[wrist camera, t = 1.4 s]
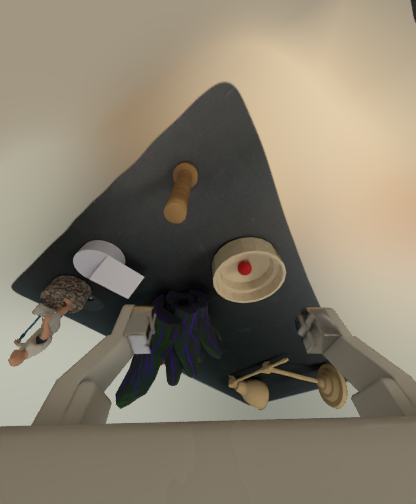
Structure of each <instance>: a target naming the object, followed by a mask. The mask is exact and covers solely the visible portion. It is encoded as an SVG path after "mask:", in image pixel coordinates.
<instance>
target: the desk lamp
mask: <svg viewBox="0 0 416 504" xmlns="http://www.w3.org/2000/svg"><path fill="white" fill-rule="evenodd" d="M286 361H288V358H283V359H281V360H280V361H278V362H275V363H273V364H268V363H269V361H268V362H266V361H265V362H264V363H263V364H262V368H260V370H257V371H255V372H253V373H250V374H248V375H246V376H244V377H241V378H239V379H235V378H234V377H233V376H230V375H229V377H230V379H229V387H230V388H235V390H236V391H237V392H239V393H241V395H242V396H243V398H244V399H245V401H246V402H247V403H248V404H250V405H251V406H253V407H255V408H258V409H259V410H263V409H264V408H265V407H266V405H267V403H268V398H269V392H268V388H267V385H266V384H265V383H263V382H260V381H258V380H255V379H249V380H245V381H242V380H244V379H246V378H249V377H251V376H253V375H256V374H258V373H260V372H262V373H263V372H264V373H267V374H268V373H270V372H274V373H278V374H282V375H286V376H290V377H294V378H298V379H302V380H306V381H310V382H314V383H317V385H318V389H319V392H320V395H321V397H322V398H323V400H324V401H325V402H326V403H327V404H328V405H329V406H331V407H333V408H336V409H339V408H342V407H343V406H344V404H345V403H346V400H347V386H346V382H345V379H344V377H343V375H342V374H341V373H340V372H339V371H338V370H337V369H336V368H335V367H334V366H333V365H332V364H323V365H322V366H321V367H320V368H319V370H318V374H317V378H316V379H315V378H311V377H307V376H303V375H299V374H295V373H291V372H287V371H283V370H279V369H276V368H273V367H274V366H277V365H279V364H282V363H284V362H285V363H286Z"/></svg>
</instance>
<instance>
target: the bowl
mask: <svg viewBox="0 0 416 504" xmlns="http://www.w3.org/2000/svg"><path fill="white" fill-rule="evenodd" d="M243 261H246V262H249V263H250V264H251V266H252V271H251V273H250V274H249V275H241V274H240V273H239V272H238V265H239V263H241V262H243ZM212 273H213V284H214V288H215V290H216V291H217V293H218V294H219V295H220V296H222V297H223V298H224V299H227V300H230V301H232V302H239V303H247V302H255V301H258V300H262V299H264V298H266V297H268V296H270V295H272V294H273V293H274V292H276V291H277V290H278V289H279V288H280V286H281V285H282V283H283V282H284V280H285V275H286V270H285V265H284V263H283V261H282V260H281V258H280V256H279V254H278V253H277V251H276V249H275V248H274V247H273V246H272V245H271V244H270V243H269V242H267V241H265V240H263V239H259V238H254V237H247V238H239V239H236V240H234V241H231V242H229V243H227V244H226V245H224V246H223V247H222V248H220V249H219V251H218V252H217V253H216V255H215V256H214V259H213V262H212Z"/></svg>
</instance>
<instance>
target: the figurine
mask: <svg viewBox="0 0 416 504" xmlns="http://www.w3.org/2000/svg"><path fill="white" fill-rule="evenodd" d="M91 293H92V290H91V287H90V286H89V285H88V284H87V283H86V282H85V281H83V280H82V279H80V278H77V277H74V276H69V275H62V276H58V277H56V278H55V279H54V280H53V281H52V282H51V283H50V284H49V286H48V287H47V288H46V289H45V290H44V291H43V292H42V293H41V295H40V299H41V301H42V302H43V303H44V304H45V305H46V306H44V304H42V303H40V304H39V305H38V306H37V307H36V308H35V309H34V310H33V311H32V313H33V314H34V315H35V314H37V315H39V317H38V318H37V319H36V320H35V322H34V323H33V324H32V325H31V326H30V327H29V328H28V329H27V330H26V331H25V333H24V334H22V335H21V337H20V338H19V339H17V340H15V341H16V342H15V341H14V343H15V344H16V345H17V346H18V347H19V348H20V349H19V350H14V352H13V353H12V354H11V356H10V359H9V360H8V361H9V364H10V365H11V366H18V365H19V364H21V363H22V362H23V361H24V360H25V359H28V358H30V357H32V356H35V355H37V354H39V353H40V352H42V351H43V350H44V349H45V348H46V347H47V346H48V345H49V344H50V343H51V340H52V335H53V334H54V333H55V332H57V331H58V329H59V327H60V319H61V317H62V315H64V314H65V313H75V312H78V311H80V310H81V309H82V308H83V306H84V305H85V303H86V301H87V300H88V298H89V297H90V295H91ZM55 311H58V312H56V313H54V312H55ZM41 316H42V317H44V318H45V319H43V318H42V321H43V323H42V325H41V328H39V330H37V331H36V333H34V334H33V335H32V336H31V337H30V338H29V339H28V340H27V342H26V343H20V342H21V339H22V338H23V337H24V336H25V334H26V333H27V331H28V330H29V329H30V328H31V327H32V326H33V325H34V324H35V323H36V321H37V320H38V319H39V318H40V317H41Z"/></svg>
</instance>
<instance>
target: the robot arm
mask: <svg viewBox="0 0 416 504" xmlns="http://www.w3.org/2000/svg"><path fill="white" fill-rule="evenodd" d="M300 312H301V314H300V315H298V316H297V318H296V320H295V325H296V329H297V331H298V333H299V334H300V335H301V336H302V337H303V338H302V342H303V344H304V347H305V349H306V351H307V353H316V354H323V355H324V356H325V357H326V358H327V359H328V360H329V362H330V363H331V364H332V365H333V366H334V367H335V368H336V369H337V370H338V371H339V372H340V373H341V374H342V375H343V376H344V377H345V378H346V379H347V380H348V381H349V382H350V383H351V384H352V385H353V386H354V387H355V388H356V389H357V390H358V391H359V392H357V393H356V394H354V395H352V398H351V399H352V401H353V403H354V405H355V407H356V409H357V411H358V413H359V415H360V416H361V417H353V418H315V419H314V418H313V419H276V420H275V419H274V420H240V421H239V420H236V421H202V422H201V421H197V422H159V423H121V424H106V420H107V417H108V414H109V410H110V407H111V404H112V403H111V401H110V399H109V398H108V397H107V396H106V395H105V393H104V391H105V390H106V389H107V387H108V386H109V385H110V384H111V383H112V381H113V380H114V379H115V377H116V376H117V375H118V374H119V373H120V371H121V370H122V369H123V368H124V366H125V365H126V364H127V362H128V361H129V360H130V359H131V358H132V356H133V354H151V349H152V345H153V336H152V335H153V334H154V333H155V331H156V325H157V315H156V314H155V306H154V305H124V306H123V308H122V310H121V312H120V314H119V317H118V319H117V322H116V324H115V326H114V329H113V331H112V333H111V335H107V336H106V337H105V338H104V339H103V340H102V341H101V342H99V343H98V344H97V345H96V346H95V347H94V348H93V349H91V350H90V351H89V352H88V353H87V354H86V355H85V356H84V357H82V358H81V359H80V360H79V361H78V362H77V363H76V364H74V365H73V366H72V367H71V368H70V369H69V370H68V371H67V372H65V373H64V374H63V375H62V376H61V377H60V378H59V379H57V381H56V382H55V384H54V386H53V388H52V389H51V391H50V393H49V395H48V397H47V398H46V400H45V402H44V404H43V406H42V407H41V409H40V411H39V412H38V414H37V416H36V418H35V420H34V421H33V423H32V425H31V426H4V427H3V426H2V427H0V504H416V382H415V381H414V379H413V378H412V377H411V376H410V375H408V374H407V373H405V372H404V371H403V370H401V369H400V368H398V367H397V366H395V365H394V364H393V363H392V362H390V361H388V360H387V359H386V358H385V357H383V356H382V355H380V354H379V353H378V352H376V351H375V350H374V349H372V348H371V347H369V346H368V345H366V344H365V343H364V342H362V341H361V340H360V339H358V338H357V337H355V336H352V335H351V333H350V332H349V331H348V329H347V328H346V326H345V325H344V323H343V322H342V320H341V319H340V318H339V316H338V315H337V313H336V312H335V311H334V310H333V309H332V308H321V307H304V308H302V309H301V311H300Z"/></svg>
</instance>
